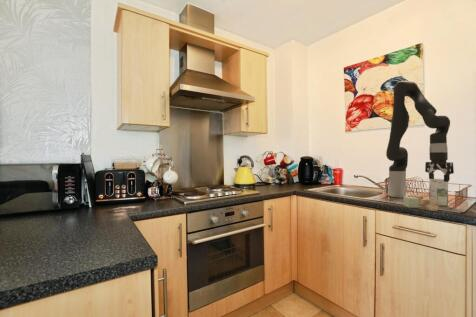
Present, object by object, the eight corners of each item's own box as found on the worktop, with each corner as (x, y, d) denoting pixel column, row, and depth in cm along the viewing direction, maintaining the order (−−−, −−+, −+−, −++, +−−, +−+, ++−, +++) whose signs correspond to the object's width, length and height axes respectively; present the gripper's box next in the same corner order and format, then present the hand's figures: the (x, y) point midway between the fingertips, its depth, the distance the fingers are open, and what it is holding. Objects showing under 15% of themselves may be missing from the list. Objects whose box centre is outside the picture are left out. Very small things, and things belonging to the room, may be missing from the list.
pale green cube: (408, 203, 130) (408, 195, 130) (412, 202, 132) (412, 194, 132) (418, 205, 126) (418, 196, 125) (422, 204, 128) (422, 195, 128)
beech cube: (420, 208, 119) (420, 199, 119) (428, 208, 120) (428, 198, 120) (431, 211, 114) (430, 201, 114) (438, 210, 115) (438, 200, 115)
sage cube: (403, 205, 127) (403, 196, 126) (413, 205, 126) (413, 196, 125) (408, 207, 122) (408, 198, 122) (418, 207, 121) (418, 198, 121)
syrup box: (439, 203, 128) (439, 178, 128) (448, 206, 122) (448, 179, 122) (429, 203, 129) (428, 178, 129) (437, 206, 123) (437, 179, 123)
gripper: (420, 152, 132) (421, 179, 132) (444, 151, 118) (445, 182, 118) (432, 151, 133) (433, 179, 133) (457, 151, 118) (458, 182, 118)
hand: (438, 180), depth 125 cm, fingers open, 8 cm apart
